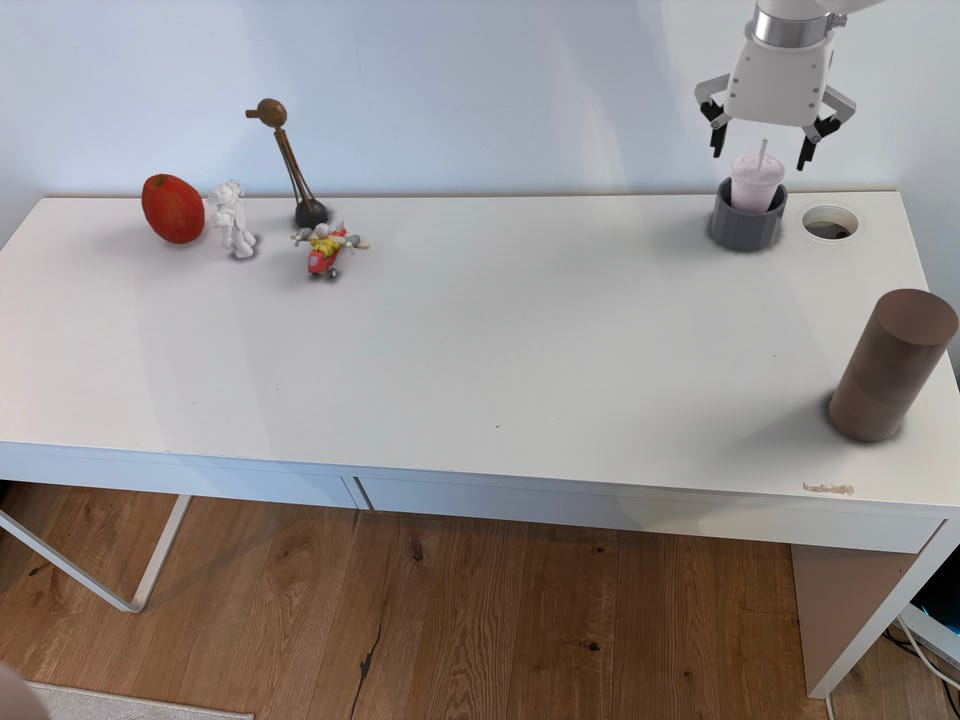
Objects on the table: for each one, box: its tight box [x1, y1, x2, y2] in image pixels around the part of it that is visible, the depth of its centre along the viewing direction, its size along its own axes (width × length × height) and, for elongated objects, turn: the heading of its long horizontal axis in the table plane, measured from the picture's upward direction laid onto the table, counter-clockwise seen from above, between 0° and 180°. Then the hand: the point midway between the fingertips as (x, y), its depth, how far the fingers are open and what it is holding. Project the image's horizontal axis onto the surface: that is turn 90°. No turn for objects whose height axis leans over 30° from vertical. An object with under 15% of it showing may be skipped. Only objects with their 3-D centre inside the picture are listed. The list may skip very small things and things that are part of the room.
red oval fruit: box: [140, 173, 206, 245], centre depth 105 cm, size 8×8×11 cm
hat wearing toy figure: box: [206, 178, 257, 259], centre depth 101 cm, size 9×4×12 cm, turn 178°
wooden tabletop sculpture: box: [244, 97, 329, 231], centre depth 100 cm, size 6×5×20 cm
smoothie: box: [729, 138, 786, 214], centre depth 91 cm, size 6×6×14 cm
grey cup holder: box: [710, 176, 789, 252], centre depth 94 cm, size 8×8×6 cm
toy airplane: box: [289, 218, 371, 279], centre depth 100 cm, size 9×9×6 cm
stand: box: [828, 287, 960, 443], centre depth 71 cm, size 7×7×16 cm
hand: (758, 157), depth 88 cm, fingers open, 9 cm apart
